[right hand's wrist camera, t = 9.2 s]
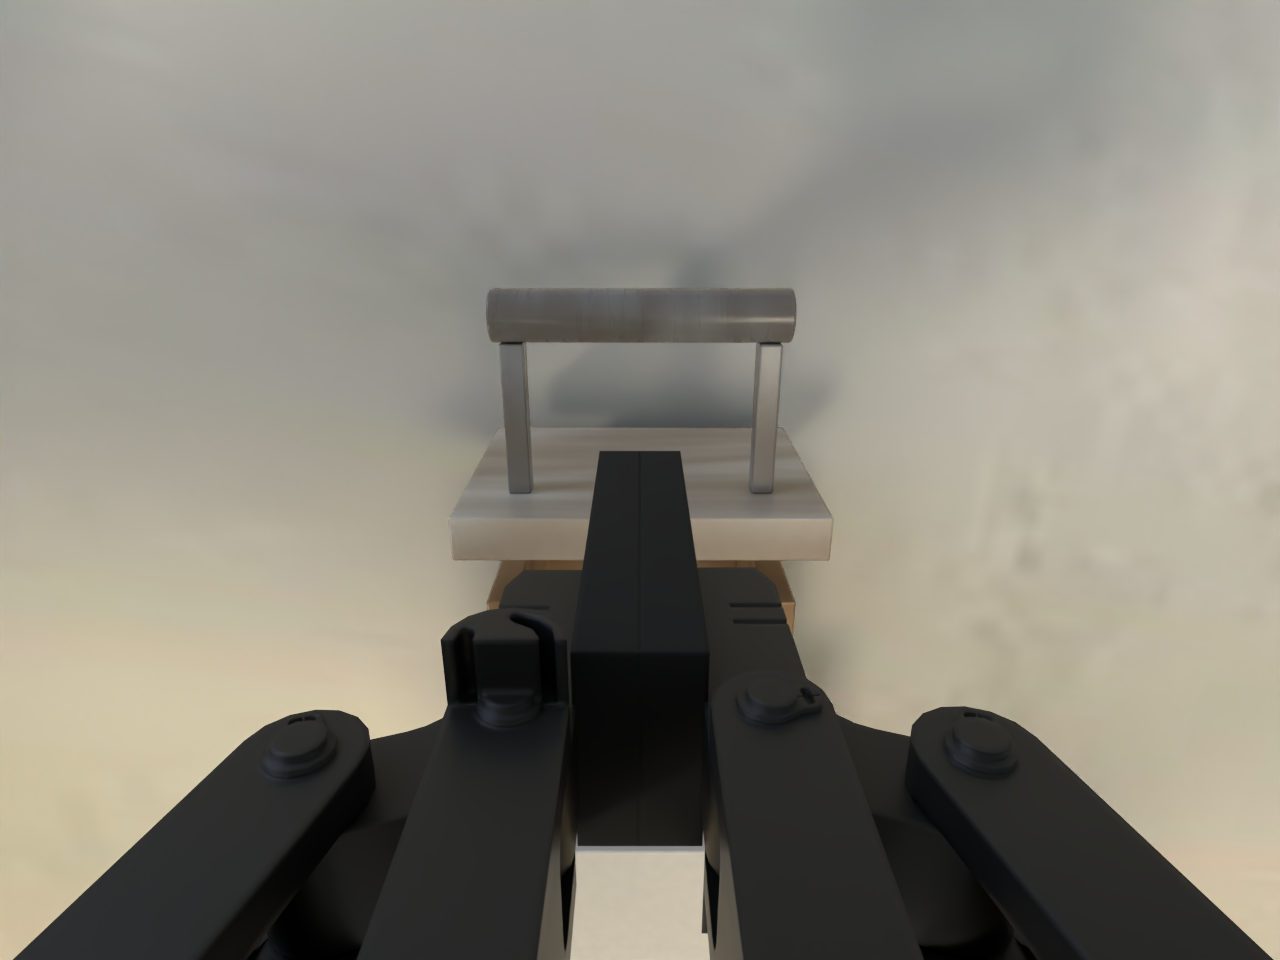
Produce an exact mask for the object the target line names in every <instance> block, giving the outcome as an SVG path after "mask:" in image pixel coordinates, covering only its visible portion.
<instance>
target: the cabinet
mask: <svg viewBox="0 0 1280 960" xmlns="http://www.w3.org/2000/svg"><path fill="white" fill-rule="evenodd" d="M575 859H576V884H577V885H576V897H575V909H574V920H573V932H572V944H571V955H570V960H710V954H709V942H708V933H702V909H703V884H704V859H705V845H704V834H703V845H702V846H578V845H577V838H576V849H575Z"/></svg>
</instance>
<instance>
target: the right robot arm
mask: <svg viewBox="0 0 1280 960" xmlns="http://www.w3.org/2000/svg"><path fill="white" fill-rule="evenodd" d="M441 647H442V656H443V665H444V674H445V684H446V693H447V702H448V706H447V709H446V711H445V714H444V717H443V718H442V719H440V720H438V721H436V722H434V723H431V724H429V725H427V726H425V727H421V728H418V729H415V730H411V731H408V732H404V733H399V734H395V735H390V736H386V737H381V738H376V739H372V740H370V736H369V730H368V728H367V727H366V726H365V725H364V723H363V722H362V721H361V720H360V719H359V718H358V717H356V716H354V715H351V714H348V713H345V712H342V711H339V710H313V711H308V712H303V713H298V714H293V715H289V716H287V717H285V718H282V719H280V720H278V721H275V722H273V723H271V724H268V725H266V726H264V727H263V728H261V729H260V730H259V731H257V732H256V733H255V734H253V735H252V736H250V737H249V738H248V739H246V740H245V741H244V742H243V743H242V744H240V745H239V746H238V747H237V748H236V749H235V750H234V751H233V752H232V753H231V754H230V755H229V756H228V757H227V758H226V759H225V760H224V761H222V762H221V763H220V764H219V765H218V766H217V767H216V768H215V769H214V770H213V771H212V772H211V773H210V774H209V775H208V776H207V777H206V778H205V779H203V780H202V781H201V782H200V783H199V784H198V785H197V786H196V787H195V788H194V789H193V790H192V791H191V792H190V793H189V794H188V795H187V796H185V797H184V798H183V799H182V800H181V801H180V802H179V803H178V804H177V805H176V806H175V807H174V808H173V809H172V810H171V811H170V812H169V813H168V814H166V815H165V816H164V817H163V818H162V819H161V820H160V821H159V822H158V823H157V824H156V825H155V826H154V827H153V828H152V829H151V830H150V831H148V832H147V833H146V834H145V835H144V836H143V837H142V838H141V839H140V840H139V841H138V842H137V843H136V844H135V845H134V846H133V847H132V848H131V849H129V850H128V851H127V852H126V853H125V854H124V855H123V856H122V857H121V858H120V859H119V860H118V861H117V862H116V863H115V864H114V865H113V866H111V867H110V868H109V869H108V870H107V871H106V872H105V873H104V874H103V875H102V876H101V877H100V878H99V879H98V880H97V881H96V882H95V883H94V884H92V885H91V886H90V887H89V888H88V889H87V890H86V891H85V892H84V893H83V894H82V895H81V896H80V897H79V898H78V899H77V900H76V901H75V902H73V903H72V904H71V905H70V906H69V907H68V908H67V909H66V910H65V911H64V912H63V913H62V914H61V915H60V916H59V917H58V918H57V919H55V920H54V921H53V922H52V923H51V924H50V925H49V926H48V927H47V928H46V929H45V930H44V931H43V932H42V933H41V934H40V935H39V936H38V937H36V938H35V939H34V940H33V941H32V942H31V943H30V944H29V945H28V946H27V947H26V948H25V949H24V950H23V951H22V952H21V953H20V954H18V955H17V956H16V957H15V958H14V959H13V960H570V955H571V944H572V932H573V920H574V909H575V897H576V885H577V884H576V859H575V849H576V838H577V845H578V846H702V845H703V834H704V845H705V859H704V884H703V909H702V933H708V942H709V954H710V960H1273V959H1272V958H1271V957H1270V956H1269V955H1268V954H1267V953H1266V952H1265V951H1263V950H1262V949H1261V948H1260V947H1259V946H1258V945H1257V944H1256V943H1255V942H1254V941H1253V940H1252V939H1251V938H1250V937H1249V936H1248V935H1246V934H1245V933H1244V932H1243V931H1242V930H1241V929H1240V928H1239V927H1238V926H1237V925H1236V924H1235V923H1234V922H1233V921H1232V920H1230V919H1229V918H1228V917H1227V916H1226V915H1225V914H1224V913H1223V912H1222V911H1221V910H1220V909H1219V908H1218V907H1217V906H1216V905H1214V904H1213V903H1212V902H1211V901H1210V900H1209V899H1208V898H1207V897H1206V896H1205V895H1204V894H1203V893H1202V892H1201V891H1200V890H1199V889H1197V888H1196V887H1195V886H1194V885H1193V884H1192V883H1191V882H1190V881H1189V880H1188V879H1187V878H1186V877H1185V876H1184V875H1183V874H1181V873H1180V872H1179V871H1178V870H1177V869H1176V868H1175V867H1174V866H1173V865H1172V864H1171V863H1170V862H1169V861H1168V860H1167V859H1166V858H1164V857H1163V856H1162V855H1161V854H1160V853H1159V852H1158V851H1157V850H1156V849H1155V848H1154V847H1153V846H1152V845H1151V844H1150V843H1148V842H1147V841H1146V840H1145V839H1144V838H1143V837H1142V836H1141V835H1140V834H1139V833H1138V832H1137V831H1136V830H1135V829H1134V828H1132V827H1131V826H1130V825H1129V824H1128V823H1127V822H1126V821H1125V820H1124V819H1123V818H1122V817H1121V816H1120V815H1119V814H1118V813H1117V812H1115V811H1114V810H1113V809H1112V808H1111V807H1110V806H1109V805H1108V804H1107V803H1106V802H1105V801H1104V800H1103V799H1102V798H1101V797H1099V796H1098V795H1097V794H1096V793H1095V792H1094V791H1093V790H1092V789H1091V788H1090V787H1089V786H1088V785H1087V784H1086V783H1085V782H1083V781H1082V780H1081V779H1080V778H1079V777H1078V776H1077V775H1076V774H1075V773H1074V772H1073V771H1072V770H1071V769H1070V768H1069V767H1068V766H1066V765H1065V764H1064V763H1063V762H1062V761H1061V760H1060V759H1059V758H1058V757H1057V756H1056V755H1055V754H1054V753H1053V752H1052V751H1050V750H1049V749H1048V748H1047V747H1046V746H1045V745H1044V744H1043V743H1042V742H1041V741H1040V740H1039V739H1038V738H1037V737H1035V736H1034V735H1032V734H1031V733H1030V732H1028V731H1027V730H1025V729H1024V728H1023V727H1021V726H1020V725H1019V724H1017V723H1016V722H1013V721H1011V720H1009V719H1006V718H1004V717H1002V716H999V715H997V714H995V713H992V712H989V711H984V710H980V709H975V708H970V707H965V706H964V707H940V708H937V709H934V710H932V711H929V712H926V713H923V714H922V715H921V716H920V717H919V718H918V719H917V721H916V722H915V723H914V724H913V725H912V730H911V736H910V737H909V736H905V735H900V734H896V733H891V732H886V731H882V730H877V729H873V728H870V727H866V726H863V725H859V724H856V723H853V722H851V721H849V720H847V719H845V718H843V717H841V716H838V715H837V714H836V713H835V710H834V708H833V705H832V703H831V701H830V700H829V698H828V697H827V696H826V694H825V693H824V691H823V690H822V689H821V688H819V687H818V686H816V685H815V684H814V683H812V682H811V681H809V680H808V679H806V676H805V673H804V670H803V667H802V664H801V661H800V658H799V655H798V652H797V649H796V646H795V643H794V640H793V636H792V633H791V630H790V627H789V624H787V618H786V615H785V612H784V609H783V607H782V603H781V600H780V597H779V594H778V591H777V588H776V585H775V584H774V583H773V582H772V581H771V580H770V579H769V578H768V577H766V576H765V575H764V574H763V573H762V572H761V571H760V570H758V569H757V568H756V567H697V561H696V554H695V548H694V541H693V534H692V527H691V520H690V513H689V507H688V500H687V493H686V486H685V479H684V472H683V466H682V459H681V452H680V451H600V452H599V459H598V466H597V472H596V479H595V486H594V493H593V500H592V507H591V513H590V520H589V527H588V534H587V541H586V548H585V554H584V561H583V568H582V570H523V571H522V572H521V573H520V574H519V575H518V576H517V577H515V578H514V579H513V580H512V581H511V582H510V583H509V584H507V585H506V586H505V588H504V591H503V594H502V597H501V600H500V603H499V609H491V610H487V611H484V612H481V613H477V614H474V615H471V616H468V617H466V618H465V619H463V620H461V621H460V622H458V623H456V624H455V625H453V626H452V627H450V629H449V630H448V631H447V633H446V634H445V635H444V636H443V638H442V639H441Z"/></svg>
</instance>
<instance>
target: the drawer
mask: <svg viewBox="0 0 1280 960" xmlns="http://www.w3.org/2000/svg"><path fill="white" fill-rule="evenodd" d="M486 320H487V329H488V334H489V337H490V340H491V341H492V342H501V344H500V345H499V351H500V366H501V381H502V396H503V411H504V426H505V428H498V430H497V432H496V434H495V435H494V437H493V439H492V441H491V443H490V444H489V446H488V448H487V450H486V452H485V454H484V455H483V457H482V459H481V461H480V463H479V465H478V466H477V468H476V470H475V472H474V474H473V475H472V477H471V479H470V481H469V483H468V485H467V486H466V488H465V490H464V492H463V494H462V495H461V497H460V499H459V501H458V503H457V505H456V506H455V508H454V510H453V512H452V514H451V516H450V517H449V527H450V538H451V548H452V558H453V560H502V561H501V564H500V566H499V569H498V572H497V575H496V578H495V581H494V583H493V586H492V589H491V592H490V595H489V597H488V600H487V610H491V609H499V603H500V600H501V597H502V594H503V591H504V588H505V586H506V585H507V584H509V583H510V582H511V581H512V580H513V579H514V578H515V577H517V576H518V575H519V574H520V573H521V572H522V571H523V570H582V568H583V561H584V554H585V548H586V541H587V534H588V527H589V520H590V513H591V507H592V500H593V493H594V486H595V479H596V472H597V466H598V459H599V452H600V451H680V452H681V459H682V466H683V472H684V479H685V486H686V493H687V500H688V507H689V513H690V520H691V527H692V534H693V541H694V548H695V554H696V561H697V567H756V568H757V569H758V570H760V571H761V572H762V573H763V574H764V575H765V576H766V577H768V578H769V579H770V580H771V581H772V582H773V583H774V584H775V585H776V588H777V591H778V594H779V597H780V600H781V603H782V607H783V609H784V612H785V615H786V618H787V624H789V627H790V630H791V633H792V636H793V627H794V616H795V604H796V603H795V600H794V597H793V594H792V592H791V589H790V586H789V583H788V580H787V578H786V575H785V572H784V569H783V567H782V564H781V561H780V560H829V558H830V549H831V539H832V529H833V517H832V515H831V514H830V512H829V510H828V508H827V506H826V505H825V503H824V501H823V499H822V497H821V496H820V494H819V492H818V490H817V488H816V486H815V485H814V483H813V481H812V479H811V477H810V476H809V474H808V472H807V470H806V468H805V467H804V465H803V463H802V461H801V459H800V458H799V456H798V454H797V452H796V450H795V449H794V447H793V445H792V443H791V441H790V439H789V438H788V436H787V434H786V432H785V430H784V429H783V428H777V427H778V412H779V398H780V383H781V369H782V354H783V346H782V344H781V343H789V342H791V341H792V338H793V336H794V331H795V325H796V298H795V294H794V291H793V289H677V288H492V289H490V290H489V292H488V295H487V301H486ZM526 342H561V343H757V344H756V361H755V379H754V397H753V415H752V428H530V410H529V392H528V373H527V355H526Z"/></svg>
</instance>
